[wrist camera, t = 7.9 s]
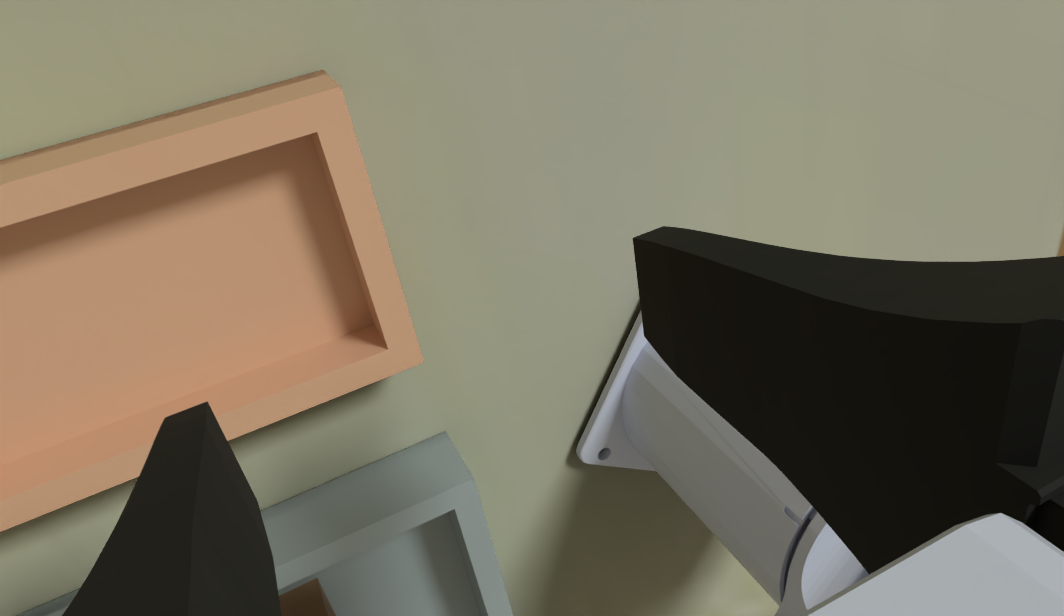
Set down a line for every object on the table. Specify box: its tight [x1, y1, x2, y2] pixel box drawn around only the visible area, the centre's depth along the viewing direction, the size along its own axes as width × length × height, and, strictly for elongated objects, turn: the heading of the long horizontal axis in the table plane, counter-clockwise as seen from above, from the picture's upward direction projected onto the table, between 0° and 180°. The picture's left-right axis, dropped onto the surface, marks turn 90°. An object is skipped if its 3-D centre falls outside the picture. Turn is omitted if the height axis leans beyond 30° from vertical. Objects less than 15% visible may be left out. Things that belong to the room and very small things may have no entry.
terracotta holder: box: [0, 70, 424, 532], centre depth 18 cm, size 13×8×2 cm, turn 101°
